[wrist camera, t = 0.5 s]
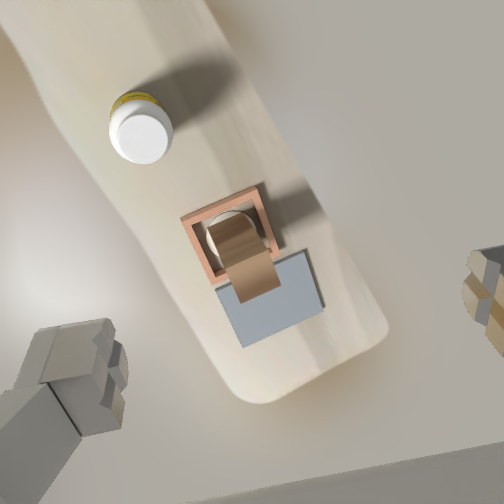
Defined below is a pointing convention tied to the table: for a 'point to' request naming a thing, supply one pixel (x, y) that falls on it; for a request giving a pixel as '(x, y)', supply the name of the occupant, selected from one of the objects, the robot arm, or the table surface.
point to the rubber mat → (273, 302)
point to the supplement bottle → (140, 128)
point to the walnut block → (244, 257)
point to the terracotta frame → (217, 208)
